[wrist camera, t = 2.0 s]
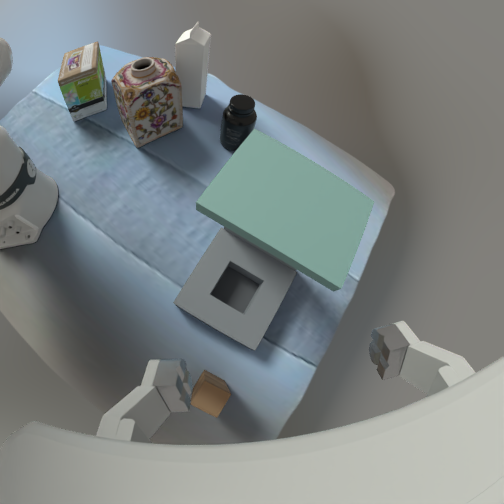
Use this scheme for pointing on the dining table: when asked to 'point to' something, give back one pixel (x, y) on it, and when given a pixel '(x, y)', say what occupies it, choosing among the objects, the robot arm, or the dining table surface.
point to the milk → (193, 65)
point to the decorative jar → (148, 99)
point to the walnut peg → (210, 394)
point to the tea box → (83, 81)
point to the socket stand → (270, 236)
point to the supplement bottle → (237, 121)
